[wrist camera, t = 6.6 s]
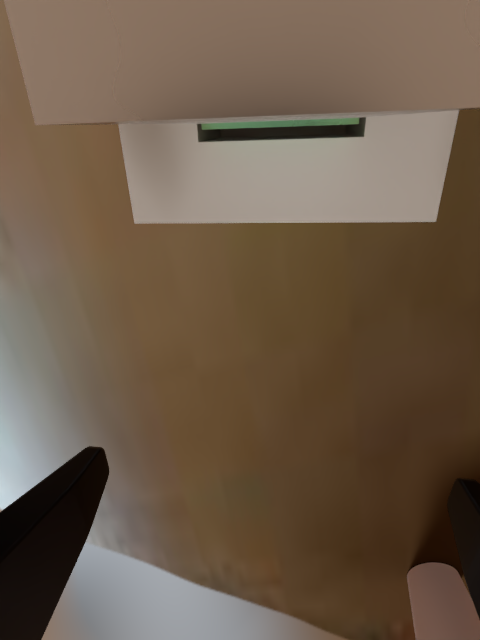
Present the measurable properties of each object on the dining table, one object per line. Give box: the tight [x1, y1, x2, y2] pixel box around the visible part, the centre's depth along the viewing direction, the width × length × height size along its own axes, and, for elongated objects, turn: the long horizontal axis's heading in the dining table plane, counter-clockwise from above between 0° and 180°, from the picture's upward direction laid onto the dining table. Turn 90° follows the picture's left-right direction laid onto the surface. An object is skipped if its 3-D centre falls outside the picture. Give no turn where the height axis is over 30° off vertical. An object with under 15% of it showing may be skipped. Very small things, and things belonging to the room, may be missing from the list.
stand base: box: [118, 110, 459, 223], centre depth 12 cm, size 11×11×5 cm
